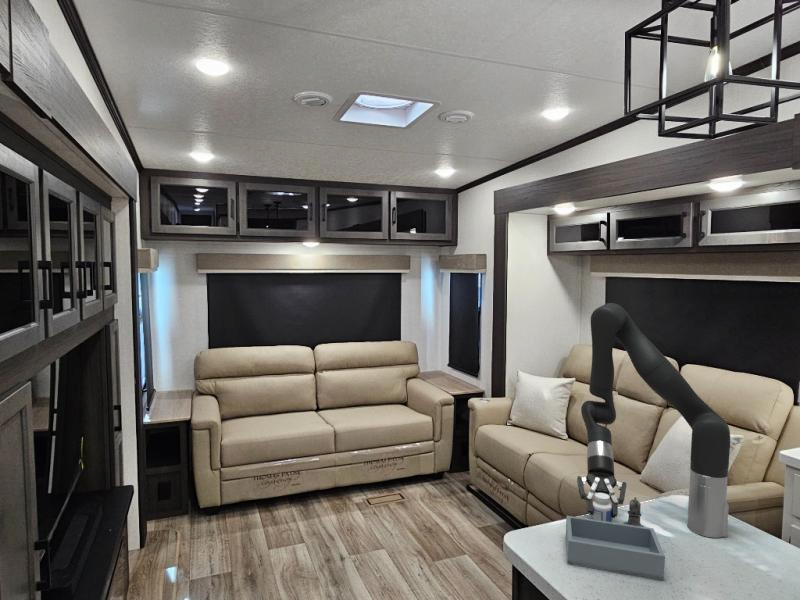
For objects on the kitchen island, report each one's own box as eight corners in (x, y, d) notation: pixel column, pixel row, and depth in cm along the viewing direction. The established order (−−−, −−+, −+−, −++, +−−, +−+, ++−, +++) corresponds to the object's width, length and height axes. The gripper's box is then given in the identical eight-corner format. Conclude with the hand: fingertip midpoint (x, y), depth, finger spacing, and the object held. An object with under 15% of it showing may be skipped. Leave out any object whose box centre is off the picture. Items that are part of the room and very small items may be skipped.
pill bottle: (608, 524, 148) (609, 492, 148) (614, 534, 143) (615, 500, 143) (588, 523, 149) (590, 490, 148) (594, 532, 144) (595, 499, 143)
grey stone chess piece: (643, 536, 142) (645, 494, 142) (646, 546, 137) (648, 503, 136) (620, 532, 144) (622, 491, 144) (622, 542, 139) (624, 499, 138)
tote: (652, 550, 135) (653, 528, 135) (663, 580, 122) (665, 556, 121) (565, 536, 141) (566, 515, 141) (567, 563, 128) (568, 540, 127)
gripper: (576, 451, 154) (576, 506, 143) (627, 457, 150) (631, 514, 139) (574, 462, 160) (575, 516, 149) (624, 468, 156) (628, 524, 145)
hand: (602, 515), depth 144 cm, fingers closed on pill bottle, 5 cm apart
